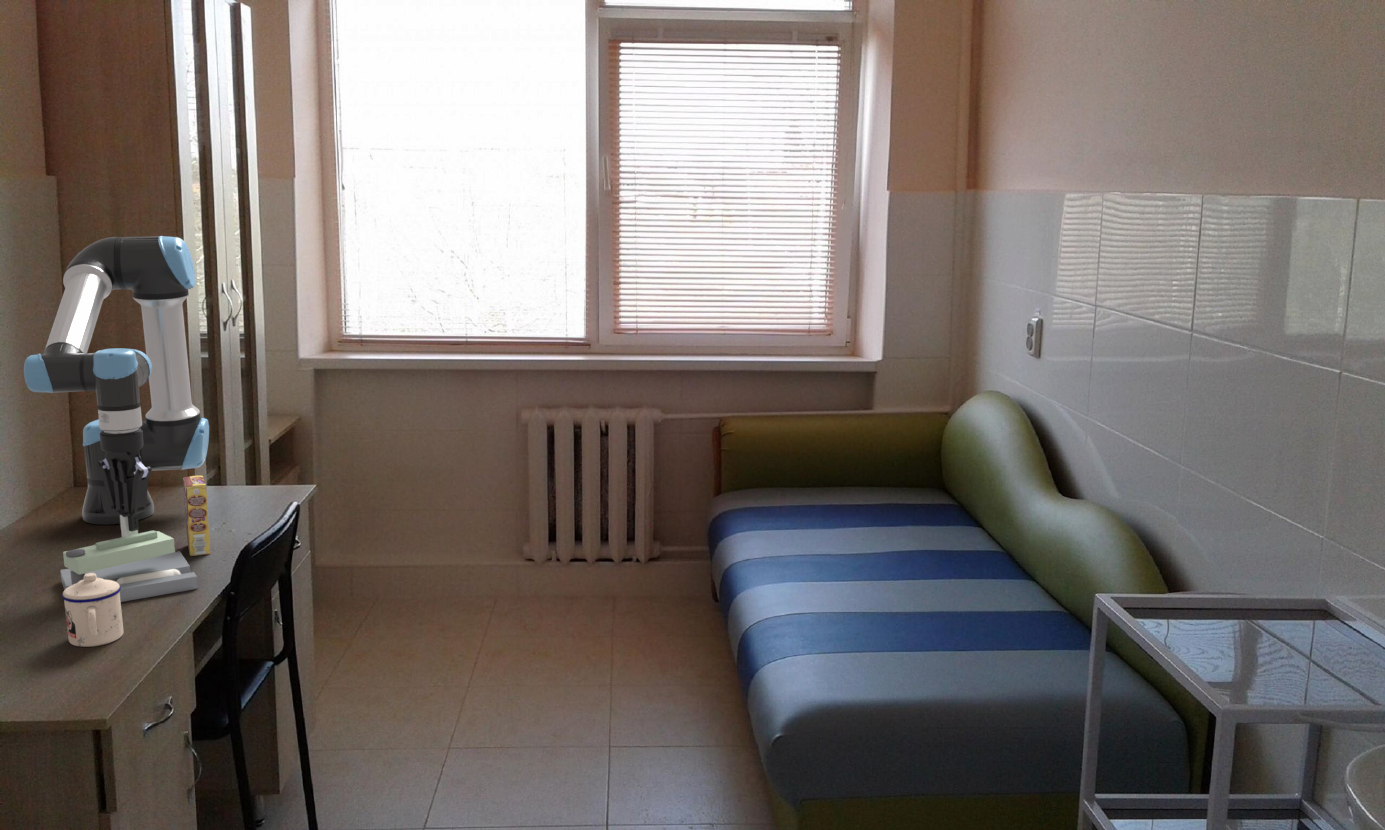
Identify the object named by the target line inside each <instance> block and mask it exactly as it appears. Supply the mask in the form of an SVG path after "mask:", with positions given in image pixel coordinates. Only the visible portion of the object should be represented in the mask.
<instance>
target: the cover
mask: <svg viewBox="0 0 1385 830" xmlns="http://www.w3.org/2000/svg"><path fill="white" fill-rule="evenodd" d="M175 548H176V547H175V538H173V537H172V536H170V535H167V534H165V533H163V532H161V531H160V530H158V531H157V530H149V531H144V532H140V533H139V532H138V534H134V535H130V536H125V537H122V536H121V537H118V538H117V537H116V538H113V539H108V540H102V541H98V542H95V544H93V545H88V546H83V547H79V548H76V549H75V548H74V549H70V550H67V551H62V555H63V564H64V565H63V566H64V567H65V568H66V569H70V570H72V571H74V572H75V573H77V574H79V575H80V574H84V573H88V572H93V571H97V570H101V569H106V568H110V567H114V566H118V565H123V564H127V563H131V562H135V561H140V560H144V559H148V558H152V557H157V556H161V555H165V554H170V553H174V552H176V549H175Z"/></svg>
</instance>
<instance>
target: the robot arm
mask: <svg viewBox="0 0 1385 830" xmlns="http://www.w3.org/2000/svg"><path fill="white" fill-rule="evenodd" d="M195 271H196V270H195V267H194V262H193V258H192V254H191V252H190V249H189V247H188V245H187V243H186V241H184V240H183V239H182V238H181V237H178V236H164V235H153V236H152V235H150V236H123V237H122V236H111V237H110V236H109V237H106V238H101V239H99V240H97V241H94V242H93V243H90V244H89V245H87V246H86V247H84V248H83V249H82V250H81V251H79V252H78V253H77V254H76V255H75V256H74V257H73V258H72V260H71V261H70V262H69V264H68V265H67V266H66V269H65V271H64V274H63V279H62V282H63V283H62V284H63V286H64V288H65V289H64V291H63V295H62V297H61V300H60V303H59V306H58V309H57V312H56V315H55V318H54V321H53V324H52V327H51V330H50V332H49V335H48V339H47V342H46V345H45V347H44V351H43V353H42V354H41V353H37V354H31V355H29V356H27V357H26V359H25V360H24V365H23V377H24V381H25V385H26V387H27V388H28V389H29V391H31V392H33V393H50V394H53V393H54V394H55V393H70V392H71V393H72V392H73V393H74V392H76V393H77V392H95V393H96V395H95V396H96V406H97V413H98V419H95V420H93V421H90V422H88V424H86V425H85V426H84V427H83V429H82V446H83V453H84V461H85V462H84V463H85V470H86V471H85V472H86V479H87V480H86V481H87V490H86V493H85V497H84V501H83V506H82V511H81V515H82V521H84V522H85V523H88V524H92V525H117V524H119V527H120V531H121V532H120V533H121V537H125V536H130V535H134V534H139V529H140V525H139V521H140V520H144V519H146V518H149V517H150V516H152V515H153V514H155V505H154V501H153V499H152V497H151V494H150V492H149V490H148V488H149V478H150V475H151V473H152V471H170V470H172V471H173V470H182V471H185V470H188V469H197V468H200V467H202V466H203V464H204V463H205V461H206V459H207V454H208V448H209V442H210V441H209V439H210V424H209V420H208V419H207V418H205V417H201V411H200V409H199V408H198V407H197V406H195V405H194V404H193V402H192V401H193V400H192V391H191V381H190V370H189V359H188V350H187V349H188V348H187V339H186V328H185V317H184V308H183V303H184V301H186V300H187V298H188V297H189V296H190V294H189V290H191V289H194V288H195V285H196V275H195V274H196V273H195ZM114 290H128V291H129V290H131V294H132V299H133V300H134V301H135V302H136V303H138V304H140V307H141V308H140V309H141V316H142V325H143V336H144V344H145V346H144V347H145V352H143V351H141V350H138V349H135V348H125V347H124V348H120V347H119V348H117V347H116V348H105V349H101V350H100V349H99V350H97V351H96V352H92V353H91V352H90V353H88V351H89V347H90V344H91V341H92V338H93V334H94V331H95V328H96V325H97V322H98V318H99V315H100V311H101V308H102V305H103V302H104V299H106V298H107V297H109V295H110V294H111V292H112V291H114ZM147 382H148V384H149V392H150V400H151V401H150V403H151V408H150V409H149V410H148V411H147V412H146V414H145V420H143V417H142V407H141V399H140V387H142V386H144V385H145V384H146V383H147Z"/></svg>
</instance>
